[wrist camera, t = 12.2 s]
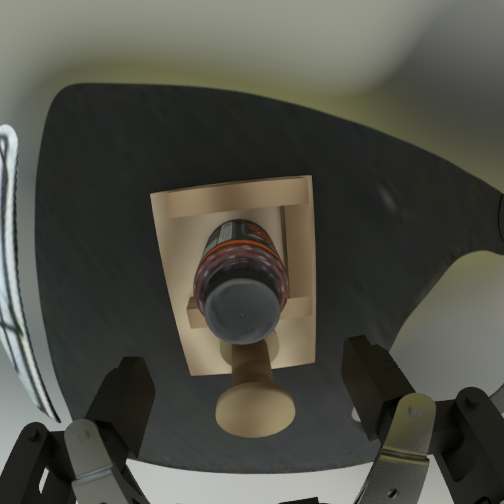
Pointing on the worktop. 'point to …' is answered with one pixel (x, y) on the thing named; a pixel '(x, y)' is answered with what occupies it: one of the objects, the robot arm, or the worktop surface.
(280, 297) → the supplement bottle
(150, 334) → the worktop surface
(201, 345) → the notched board
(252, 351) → the bobbin post
